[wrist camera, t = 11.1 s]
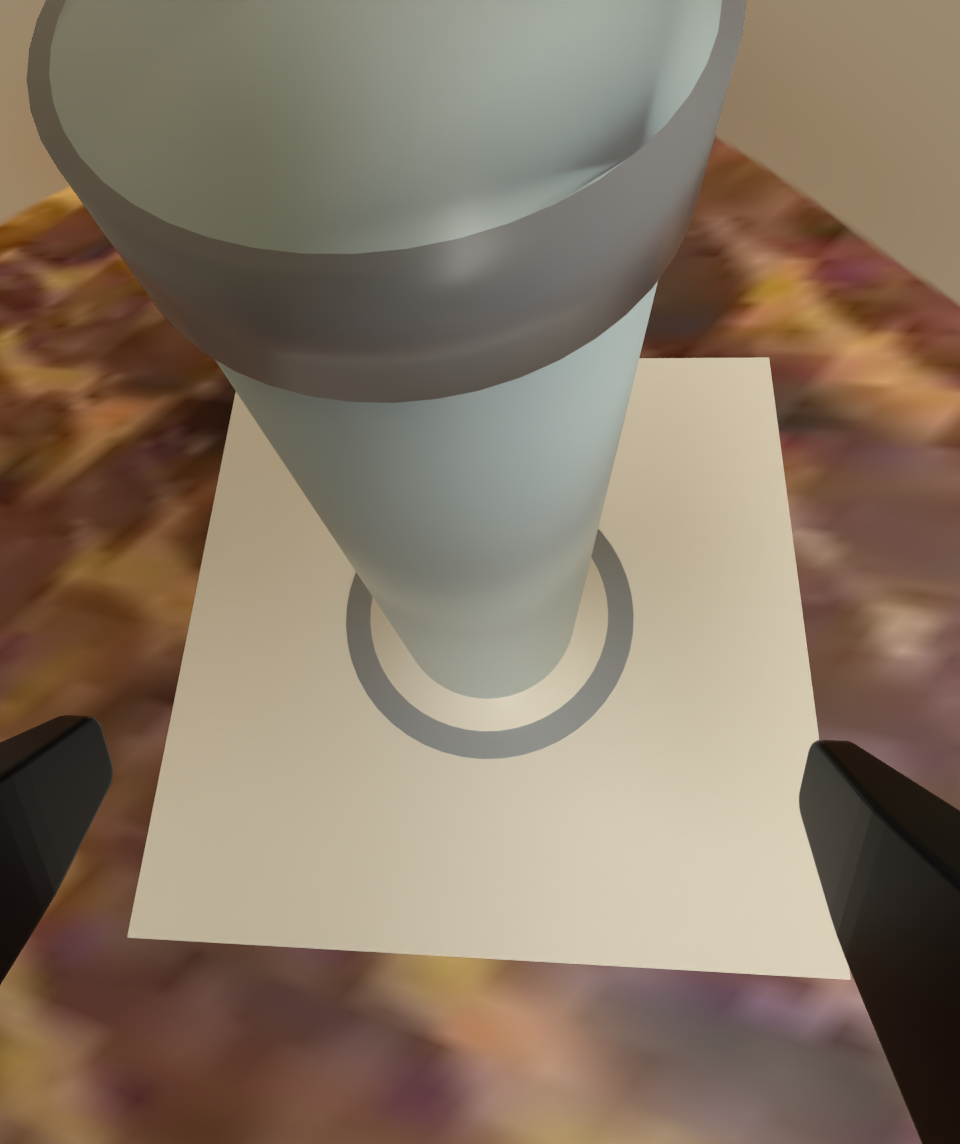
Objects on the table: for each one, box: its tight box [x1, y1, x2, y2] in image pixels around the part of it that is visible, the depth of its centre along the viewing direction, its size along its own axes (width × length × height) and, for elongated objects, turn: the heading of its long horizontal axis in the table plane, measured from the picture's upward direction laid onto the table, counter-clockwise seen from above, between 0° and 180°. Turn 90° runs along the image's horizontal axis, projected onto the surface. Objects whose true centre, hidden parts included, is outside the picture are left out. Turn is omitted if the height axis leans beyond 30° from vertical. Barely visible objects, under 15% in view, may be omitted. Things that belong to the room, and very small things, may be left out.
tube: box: [27, 0, 746, 699], centre depth 11 cm, size 5×5×14 cm
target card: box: [127, 358, 851, 980], centre depth 18 cm, size 16×16×1 cm
